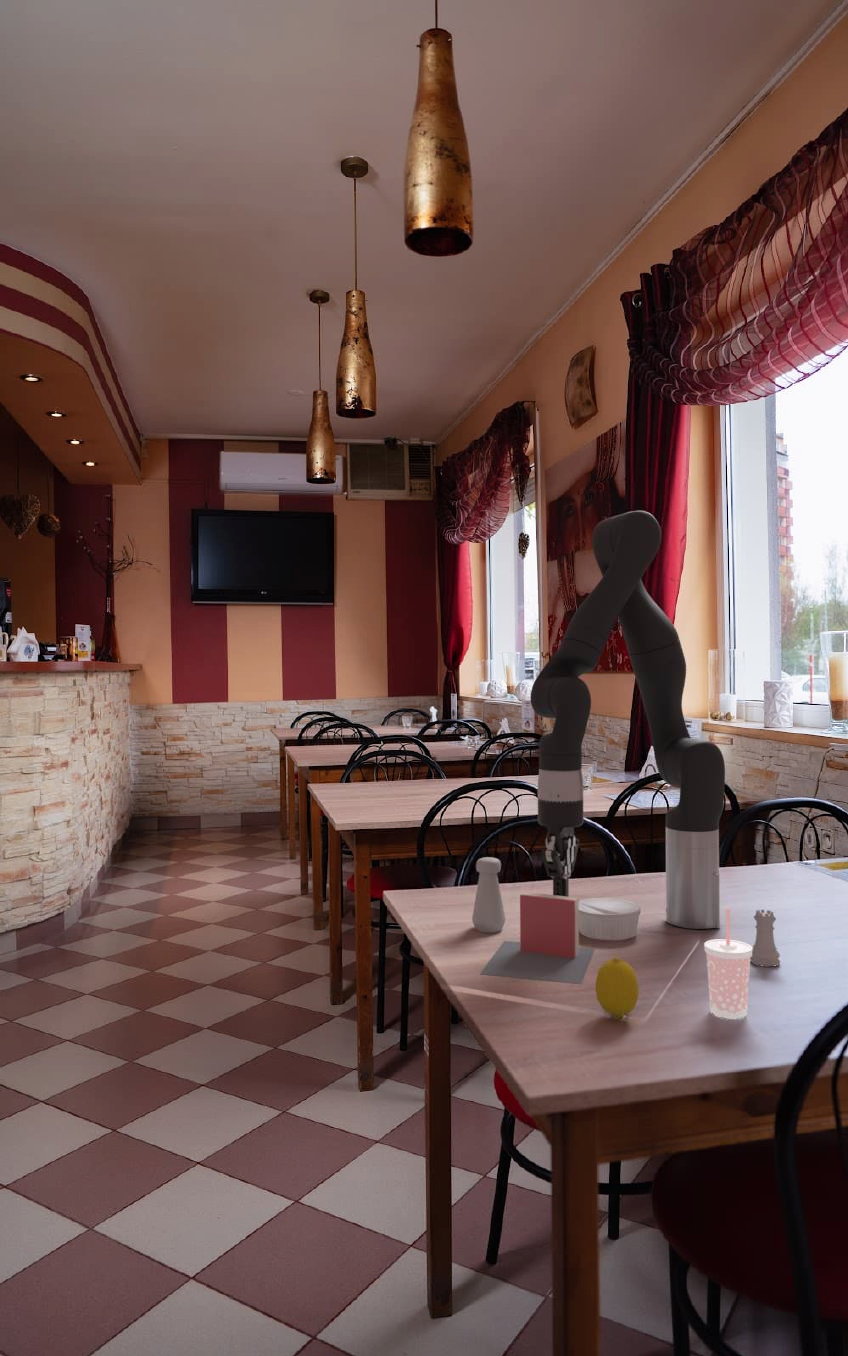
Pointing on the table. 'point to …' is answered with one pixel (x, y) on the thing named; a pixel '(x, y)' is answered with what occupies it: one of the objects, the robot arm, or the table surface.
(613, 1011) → the lemon
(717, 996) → the beverage cup
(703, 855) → the robot arm
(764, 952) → the rook chess piece
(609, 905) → the ramekin
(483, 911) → the salt shaker
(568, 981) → the slate mat
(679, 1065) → the table surface
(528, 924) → the tile
